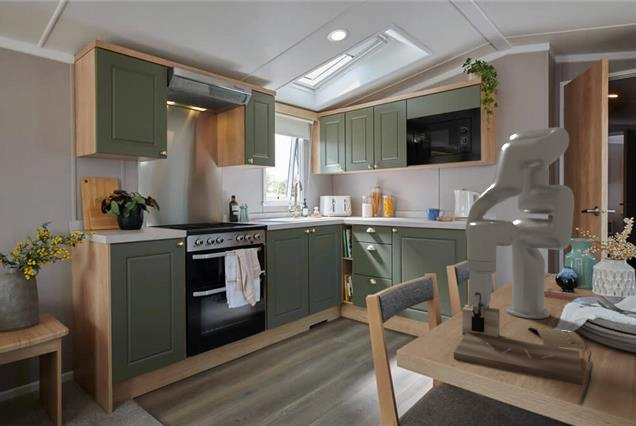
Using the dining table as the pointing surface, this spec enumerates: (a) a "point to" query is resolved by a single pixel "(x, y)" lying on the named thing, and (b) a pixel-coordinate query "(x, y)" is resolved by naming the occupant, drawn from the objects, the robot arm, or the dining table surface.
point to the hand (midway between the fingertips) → (480, 326)
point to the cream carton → (490, 321)
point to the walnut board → (521, 357)
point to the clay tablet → (560, 338)
